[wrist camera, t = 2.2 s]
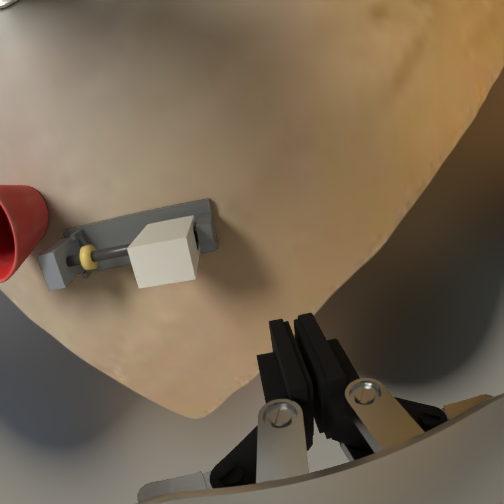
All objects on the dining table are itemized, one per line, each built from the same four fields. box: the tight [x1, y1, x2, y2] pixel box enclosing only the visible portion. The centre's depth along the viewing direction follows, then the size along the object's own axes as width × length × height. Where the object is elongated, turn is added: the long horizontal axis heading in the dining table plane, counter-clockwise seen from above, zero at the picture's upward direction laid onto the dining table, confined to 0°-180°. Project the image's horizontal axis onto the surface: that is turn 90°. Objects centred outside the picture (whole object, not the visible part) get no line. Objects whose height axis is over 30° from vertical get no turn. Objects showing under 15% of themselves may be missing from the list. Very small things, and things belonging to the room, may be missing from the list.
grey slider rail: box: [37, 198, 218, 291], centre depth 30 cm, size 19×6×7 cm, turn 98°
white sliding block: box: [127, 215, 200, 288], centre depth 27 cm, size 5×4×8 cm
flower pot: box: [0, 185, 49, 283], centre depth 25 cm, size 11×11×10 cm
